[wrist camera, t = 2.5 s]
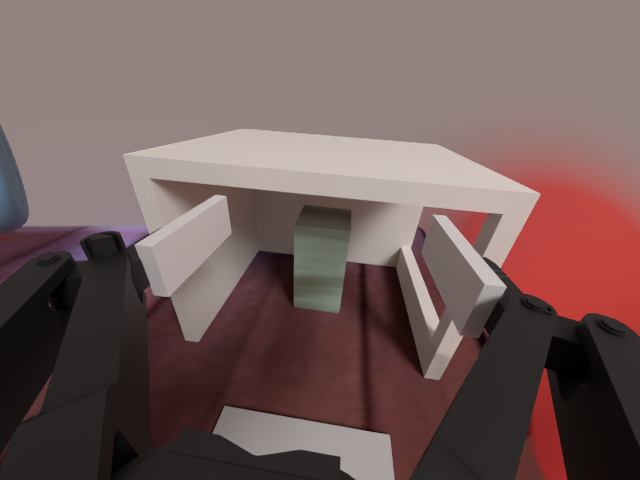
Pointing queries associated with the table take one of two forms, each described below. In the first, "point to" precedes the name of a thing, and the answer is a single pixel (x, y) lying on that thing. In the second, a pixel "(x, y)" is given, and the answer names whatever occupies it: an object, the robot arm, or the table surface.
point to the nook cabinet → (325, 191)
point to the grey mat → (309, 441)
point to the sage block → (320, 257)
